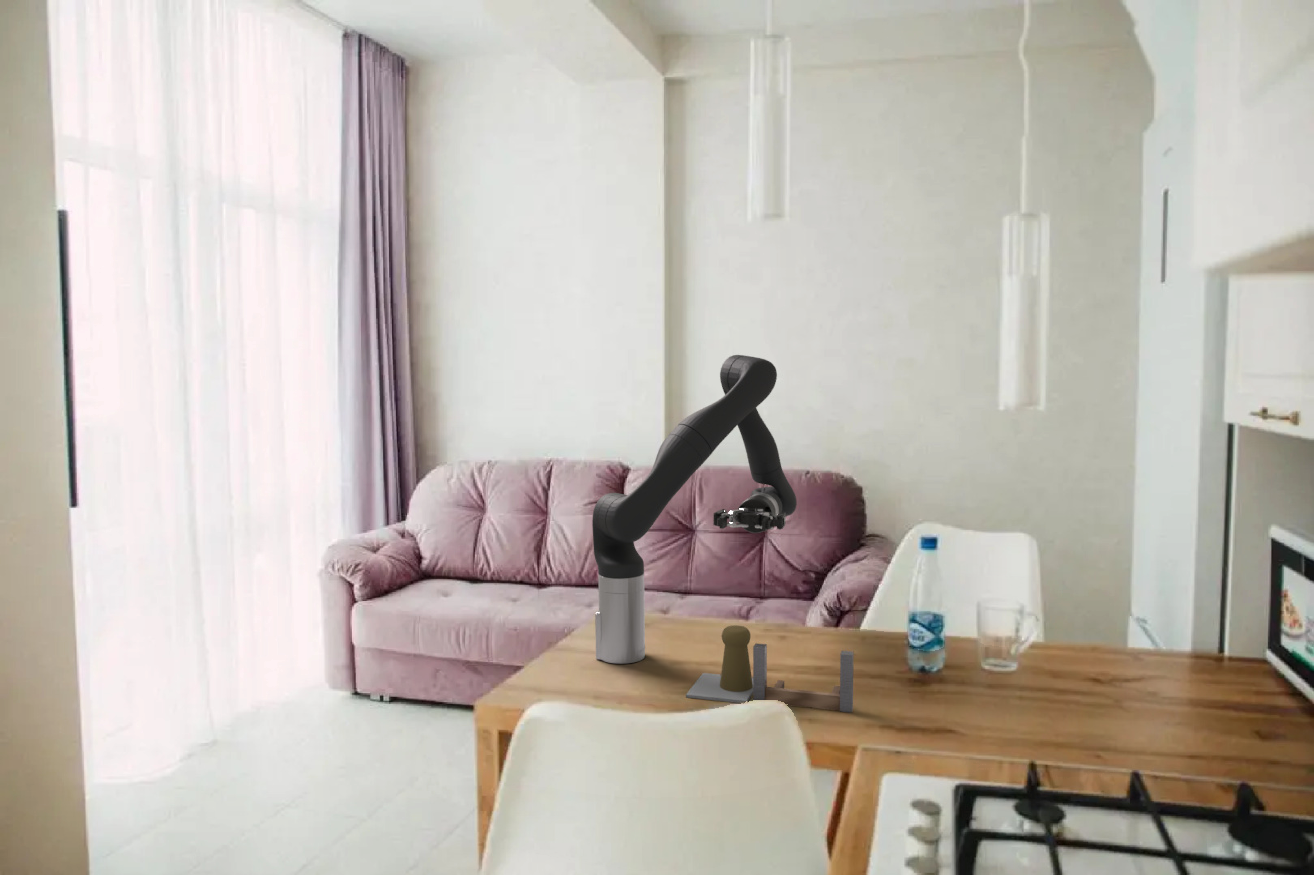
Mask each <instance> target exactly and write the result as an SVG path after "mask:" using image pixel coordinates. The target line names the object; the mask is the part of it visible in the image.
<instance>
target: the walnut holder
mask: <svg viewBox="0 0 1314 875" xmlns="http://www.w3.org/2000/svg"><path fill="white" fill-rule="evenodd" d="M752 647H753V648H752V650H753V651H752V656H753V657H752V658H753V659H752V666H753V667H752V670H753V671H752V674H753V675H752V678H753V694H752V696H753V697H752V698H753V700H778V701H781V702H784V703H785V704H788V705H787V706H791V705H792V707H800V706H802V707H803V706H804V707H803V708H810V707H812V709H819V710H829V709H833V710H832V711H838V710H839V712H842V713H851V714H852V713H853V710H854V651H851V650H849V651H848V650H841V652H840V655H839V656H840V657H839V660H840V661H839V662H840V664H839V667H840V668H839V669H840V672H839V677H840V679H839V685H833V688H832V690H831V692H824V691H813V690H806V689H805V690H804V689H793V688H785V680H781V679H778V680H777V681H776V683H775V684H774V686H768V679H767V678H768V676H767V674H768V671H767V670H768V665H767V664H768V663H767V662H768V659H767V658H768V656H767V655H768V654H767V652H768V649H767V648H768V645H767V643H757V642H756V643H755V644H754V645H753V646H752ZM753 700H752V701H753ZM802 707H801V708H802Z"/></svg>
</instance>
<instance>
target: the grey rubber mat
mask: <svg viewBox="0 0 1314 875" xmlns="http://www.w3.org/2000/svg"><path fill="white" fill-rule="evenodd" d="M720 680H721V674H718V673H708V672H702V673H701V675H700V676H699V677H698V678H697V680H696V681H695V682H694V683H693V685H691V687H690V689H689V691H687V693H686V694H685V698H688V699H697V700H698V699H699V700H706V701H707V700H709V701H718V702H725V703H726V702H727V703H737V704H741V703H740V702H746V701H748V702H749V700H750V699H751V697H752V696H753V687H752V688H751V689H750V690H747V691H742V692H732V691H727V690H724V689H722V688H721V687H720ZM752 684H753V677H752ZM732 701H733V702H732Z"/></svg>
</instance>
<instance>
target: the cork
mask: <svg viewBox="0 0 1314 875" xmlns="http://www.w3.org/2000/svg"><path fill="white" fill-rule="evenodd" d="M721 640H722V642H723V644H724V649H723V658H722V666H721V674H720V675H721V680H720V687H721V688H722V689H724V690H727V691H732V692H742V691H747V690H750V689H751V688H752V687H753V684H752V678H753V675H752V670H751V669H752V668H751V662H750V654H749V648H748V646H749V643H750V642H751V641H750V640H751V632H750V630H749V628H748V627H745V626H743V625H728V626H725V628H723V630H722V633H721Z"/></svg>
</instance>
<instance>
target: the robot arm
mask: <svg viewBox="0 0 1314 875" xmlns="http://www.w3.org/2000/svg"><path fill="white" fill-rule="evenodd" d="M719 377H720V379H719V380H720V383H721V388H722V390H723V393H724V395H723V396H722V397H721V398H720V399H718V400H717V401H715V402H713V403H711V404H709V405H707V406H705V407H703V408H701V409H699V410H697V411H696V412H693V413H692V414H690V415H688V416H686V417H685V418H683V419H682V420H681V421H680V422H679V423H678V424H677V425H676V427H674V428H673V430H672V431H671V432H670V433H669V434H668V435H667V437H666V438H664V440H663V441H662V443H661V445H660V447H659V448H658V451H657V454H656V457H655V461H654V464H653V466H652V468H651V469H650V472H649V473H648V475H647V476H646V477H645V478H644V480H643V481H642V482H641V483H639V485H638V486H637V487H636V488H635V489H633V491H631V492H630V493H629V494H628V495H627V494H624V493H619V492H609V493H605V494H604V495H602V496H601V497H600V498H599V499H598V500H597V502H596V503H595V506H594V508H593V513H592V523H591V524H592V544H593V555H594V560H595V562H596V565H597V568H598V569H597V571H598V572H597V574H598V610H597V611H596V612H595V616H594V617H595V619H594V620H595V626H594V627H595V659H596V660H599V661H600V660H601V661H603V662H606V663H608V664H609V663H610V664H616V665H617V664H620V665H623V664H632V663H636V662H640V661H642V660H643V659H645V657H646V642H645V640H646V639H645V638H646V635H645V634H646V631H645V630H646V626H645V625H646V624H645V621H646V619H645V615H646V614H645V613H646V612H645V611H646V610H645V564H644V563H645V562H644V560H643V558H642V556H641V555H640V553H639V552H638V551H637V549H636V547H635V542H636V541H639V540H641V538H643V537H644V536H645V535H646V534H647V533H648V532H649V530H650V529H651V528H652V527H653V525H654V524H655V522H656V521H657V519H658V518H659V516H660V515H661V513H663V511H664V510H665V509H666V507H667V505H668V504H669V502H670V501H671V500H672V499H673V497H675V496H676V495H677V493H678V492H679V491H680V489H682V487H683V486H684V485H685V484H686V482H687V481H688V480H689V479H690V478H691V477H692V476H693V475H694V473H695V472H697V470H698V469H699V468H700V467H701V466H702V465H703V464H704V463H705V462H706V461H707V460H708V458H710V456H711V455H712V454H713V452H715V450H716V449H717V448H718V446H719V445H720V444H722V442H723V441H724V440H725V439H726V438H727V437H728V435H730V433H732V432H733V430H734V429H735V428H736V427H738V430H739V432H740V436H741V439H742V441H743V444H744V448H745V453H746V456H747V460H748V467H749V470H750V475H751V478H752V480H753V481H754V482H755V483H757V484H760V485H765V486H763V487H758V488H755V489H753V490H752V491H751V493H750V497H747V498H746V499H745V500H743V501H742V502H741V503H740V504H739V506H738V509H732V510H729V511H728V510H727V509H725V508H721V509H719V510H717V511H715V512H713V519H712V521H713V526H716V527H719V529H721V530H723V529H725V528H727V527H730V528H734V529H735V528H743V530H745V531H747V532H749V533H751V534H760V533H763V532H767V531H768V530H774V528H775V527H776V529H777V530H783V529H784V527H785V526H786V517H788V516H791V515H792V514H793V513H795V511H796V509H797V505H798V502H797V496H796V494H795V491H794V490H793V487H792V486H791V484H790V482H789V481H788V479H787V477H786V475H785V473H784V470H783V468H782V463H781V459H780V453H779V449H778V445H777V443H776V442H777V441H776V440H775V438H774V436H773V434H772V432H771V431H770V429H769V428H768V426H767V425H766V423H765V421H764V420H763V418H762V417H761V415H760V413H759V411H758V409H757V408H758V406H760V405H761V404H762V403H763V402H764V401H765V400H766V399H767V398H768V397H769V396H770V395H771V393H772V392H773V389H774V388H775V385H776V382H777V378H778V374H777V368H776V366H775V365H774V364H773V362H771V361H770V360H768V359H765V358H762V357H755V356H749V355H743V354H735V355H730V356H729V357H727V358H726V359H725V360H724V361H723V363H722V365H721V367H720V372H719Z"/></svg>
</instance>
